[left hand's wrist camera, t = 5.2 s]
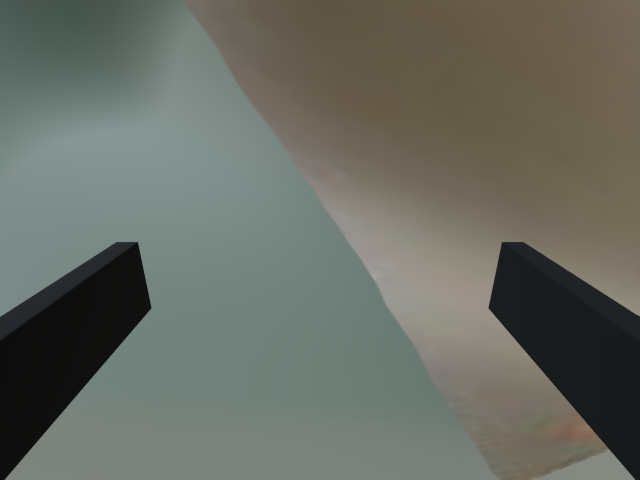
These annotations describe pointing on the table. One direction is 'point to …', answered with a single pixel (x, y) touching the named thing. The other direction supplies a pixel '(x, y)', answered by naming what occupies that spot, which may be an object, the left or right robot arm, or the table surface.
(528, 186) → the table surface
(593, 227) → the table surface
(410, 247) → the table surface
